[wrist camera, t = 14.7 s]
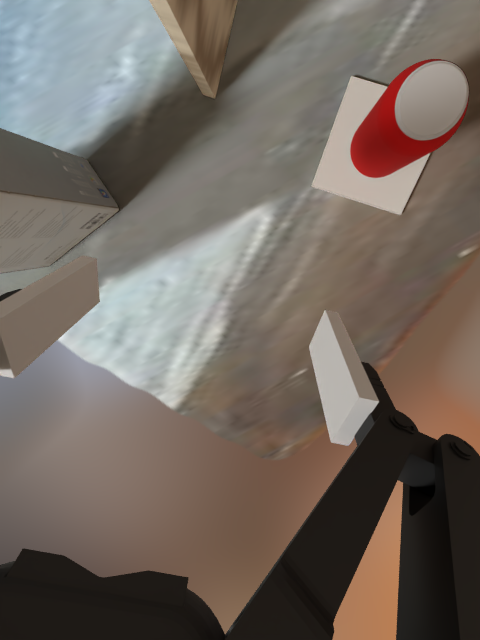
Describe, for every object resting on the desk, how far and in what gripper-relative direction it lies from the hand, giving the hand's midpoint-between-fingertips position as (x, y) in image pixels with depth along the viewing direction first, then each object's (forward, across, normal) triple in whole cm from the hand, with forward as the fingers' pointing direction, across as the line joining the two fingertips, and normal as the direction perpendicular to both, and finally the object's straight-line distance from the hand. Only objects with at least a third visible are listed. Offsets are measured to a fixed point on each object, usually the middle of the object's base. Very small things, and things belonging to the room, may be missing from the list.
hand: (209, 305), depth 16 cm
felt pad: (+24, +14, +11) cm, 29 cm away
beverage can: (+24, +13, +11) cm, 29 cm away
